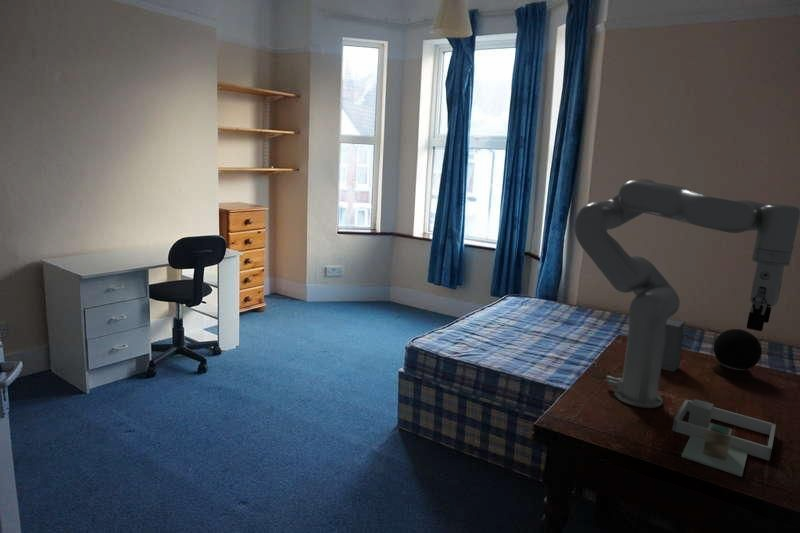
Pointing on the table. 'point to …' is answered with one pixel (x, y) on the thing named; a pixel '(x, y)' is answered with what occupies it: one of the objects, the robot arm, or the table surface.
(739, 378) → the dark rounded object
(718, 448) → the labelled block
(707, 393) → the table surface
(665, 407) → the table surface
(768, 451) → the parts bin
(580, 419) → the table surface
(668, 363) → the skincare box
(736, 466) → the mat
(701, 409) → the plain block
